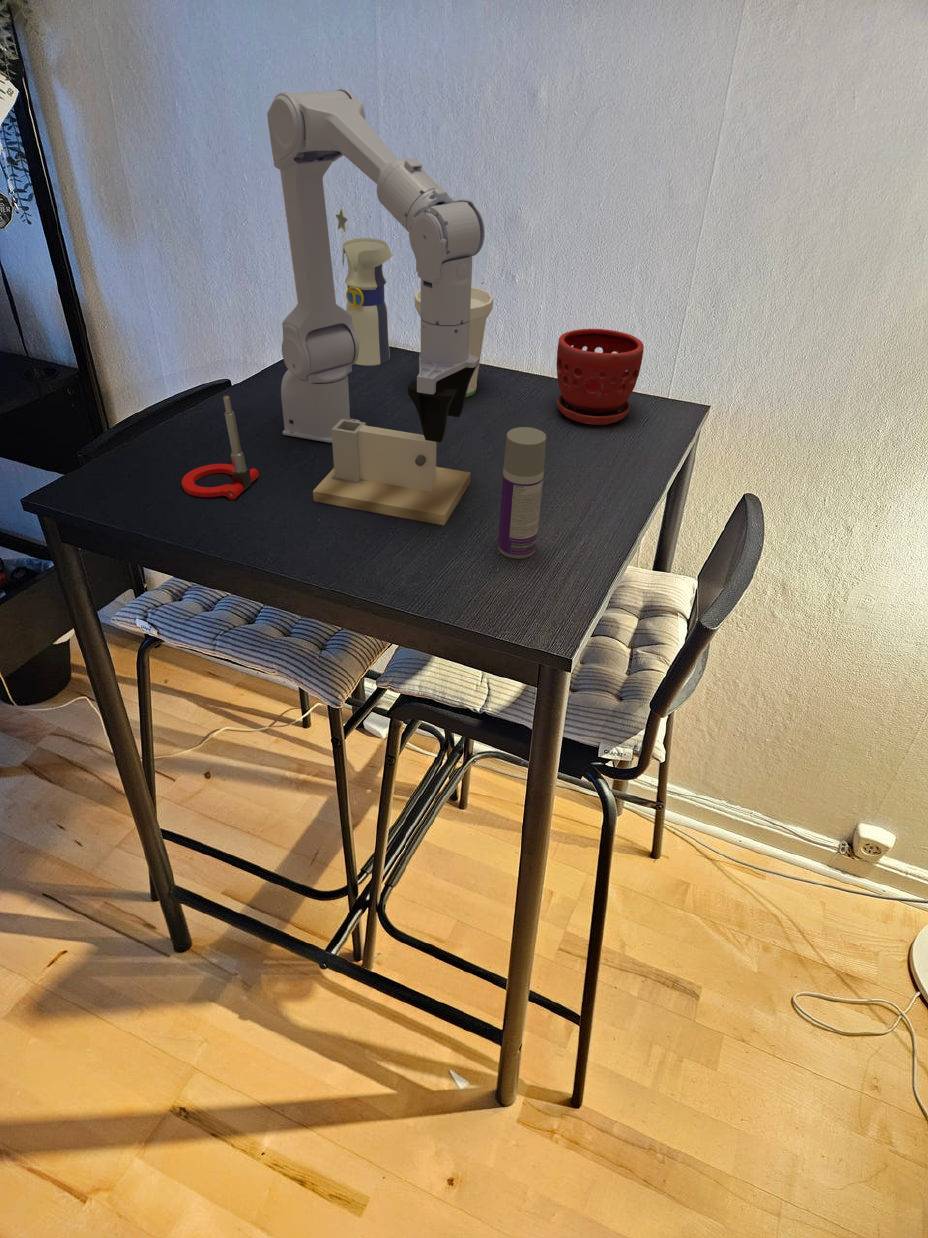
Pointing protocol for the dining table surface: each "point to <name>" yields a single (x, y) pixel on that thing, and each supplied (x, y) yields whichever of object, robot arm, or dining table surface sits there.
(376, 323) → the cream spray bottle
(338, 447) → the door
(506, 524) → the container
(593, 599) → the dining table surface
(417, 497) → the base board
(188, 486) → the tow hook
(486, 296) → the cup
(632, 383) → the plant pot
